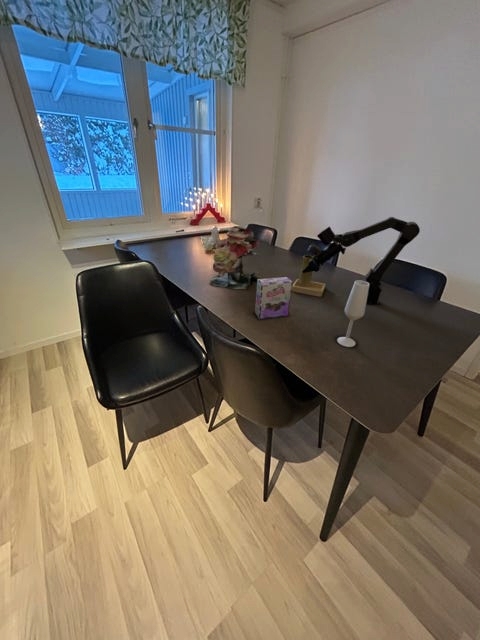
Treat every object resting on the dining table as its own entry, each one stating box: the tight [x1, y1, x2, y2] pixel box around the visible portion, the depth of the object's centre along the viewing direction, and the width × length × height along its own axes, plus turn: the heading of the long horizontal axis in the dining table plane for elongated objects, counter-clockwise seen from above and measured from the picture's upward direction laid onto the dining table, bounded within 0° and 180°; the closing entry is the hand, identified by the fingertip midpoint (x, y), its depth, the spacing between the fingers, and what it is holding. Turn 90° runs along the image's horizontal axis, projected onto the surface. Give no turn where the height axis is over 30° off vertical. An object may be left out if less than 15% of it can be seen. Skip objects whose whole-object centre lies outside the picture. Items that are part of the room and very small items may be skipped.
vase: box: [299, 254, 314, 285], centre depth 141 cm, size 6×6×14 cm
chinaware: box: [199, 225, 222, 252], centre depth 209 cm, size 28×17×17 cm, turn 17°
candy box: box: [254, 276, 293, 320], centre depth 117 cm, size 14×6×16 cm, turn 105°
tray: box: [291, 278, 327, 298], centre depth 145 cm, size 16×12×3 cm
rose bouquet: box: [209, 225, 262, 290], centre depth 146 cm, size 26×29×30 cm
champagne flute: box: [336, 279, 369, 348], centre depth 98 cm, size 7×7×24 cm
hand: (303, 270), depth 142 cm, fingers closed on vase, 5 cm apart
